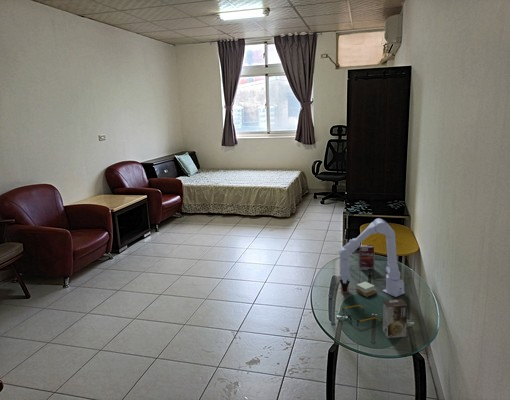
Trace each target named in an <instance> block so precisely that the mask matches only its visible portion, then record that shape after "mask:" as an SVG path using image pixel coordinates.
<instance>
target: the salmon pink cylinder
mask: <svg viewBox="0 0 510 400" xmlns="http://www.w3.org/2000/svg"><path fill="white" fill-rule="evenodd" d="M349 286H350V285H348V288H347V292H343V290H342V285H341V284H340V292H341V294H348V293H349V292H350V291H349Z"/></svg>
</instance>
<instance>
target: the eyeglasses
mask: <svg viewBox="0 0 510 400" xmlns="http://www.w3.org/2000/svg"><path fill="white" fill-rule="evenodd" d="M353 307H354V308H355V307H360V308H361V309H363V308H364V309H365V307H364V306H362V305H360V304H356V305H352V306H351V305H350V306H346V307H342V314H343V313H344V314H345V313H346V315H347V319H348V318H349V320H350V322H351V321H352V319H353V320H355V321H356V322H357V324H356V325H357V326H356V327H358V326H359V323H362V322H363V323H364V322H366V321H370V320H373V319H377V320H378V321H379V322H381V321H382V320H381V319H380V318H378V317H371V318H365V319H361V320H358V319H357V318H355V317H354V316H352V315H350V314H349V313H348V312H347V311H346V310H347V309H349V308H350V309H351V308H353ZM352 322H353V321H352Z"/></svg>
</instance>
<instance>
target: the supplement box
mask: <svg viewBox="0 0 510 400" xmlns="http://www.w3.org/2000/svg"><path fill="white" fill-rule="evenodd" d="M358 249H359V253H358V255H359V257H358V258H359V259H358V260H359V261H358V268H359V267H360V268H359V269H360V271H369V270H368V269H373V270H374V268H375V267H374V263H375V262H374V259H375V247H374V245H373V244H368V245H367V244H366V245H361V244H360V246H359V247H358Z"/></svg>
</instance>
